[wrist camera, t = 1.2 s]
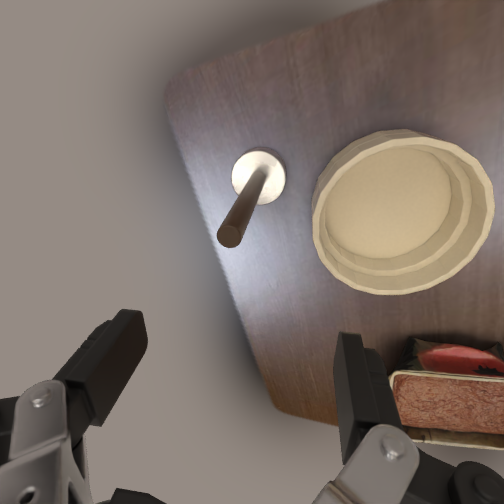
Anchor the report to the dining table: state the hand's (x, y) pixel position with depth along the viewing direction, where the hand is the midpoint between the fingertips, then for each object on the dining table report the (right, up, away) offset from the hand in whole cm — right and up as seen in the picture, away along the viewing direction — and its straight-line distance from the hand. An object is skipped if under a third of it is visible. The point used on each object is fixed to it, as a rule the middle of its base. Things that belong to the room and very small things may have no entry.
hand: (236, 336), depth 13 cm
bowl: (+15, +9, +21) cm, 27 cm away
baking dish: (+26, -13, +30) cm, 42 cm away
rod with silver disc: (+2, +12, +21) cm, 24 cm away
